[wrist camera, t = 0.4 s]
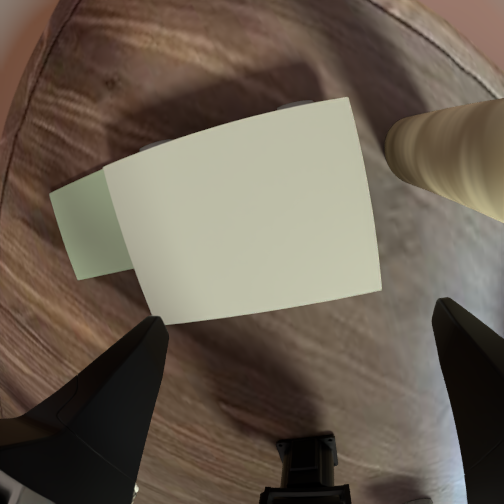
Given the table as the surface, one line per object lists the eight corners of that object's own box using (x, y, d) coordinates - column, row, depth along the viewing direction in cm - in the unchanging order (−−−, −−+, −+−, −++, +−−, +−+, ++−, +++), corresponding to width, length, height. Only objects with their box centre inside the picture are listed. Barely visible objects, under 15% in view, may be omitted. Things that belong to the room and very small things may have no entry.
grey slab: (370, 273, 23) (382, 296, 19) (176, 306, 26) (158, 331, 22) (337, 99, 19) (345, 88, 15) (129, 156, 22) (101, 160, 19)
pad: (153, 262, 25) (150, 264, 25) (80, 278, 27) (77, 280, 26) (122, 161, 23) (119, 162, 22) (52, 192, 24) (49, 193, 24)
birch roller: (449, 179, 20) (569, 222, 7) (391, 189, 21) (490, 243, 8) (437, 114, 18) (558, 98, 6) (377, 121, 19) (472, 95, 7)
